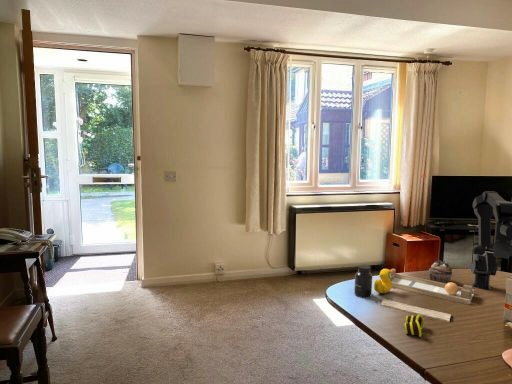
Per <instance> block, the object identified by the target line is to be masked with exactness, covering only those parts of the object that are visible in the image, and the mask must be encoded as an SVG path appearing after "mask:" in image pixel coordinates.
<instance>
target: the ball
mask: <svg viewBox="0 0 512 384" xmlns="http://www.w3.org/2000/svg"><path fill="white" fill-rule="evenodd" d="M445 291H446V292H447V293H448V294H451V295H454V294H456V293H457V292H458V284H456V283H454V282H452V281H450V282H449V283H447V284H446V285H445Z"/></svg>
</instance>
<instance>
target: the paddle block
mask: <svg viewBox="0 0 512 384" xmlns="http://www.w3.org/2000/svg"><path fill="white" fill-rule="evenodd" d="M462 287H463V288H462V290H461V298H465V299H470V298H471V296H472V289H473V287H472V285H469V284H463V286H462Z"/></svg>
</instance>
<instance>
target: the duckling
mask: <svg viewBox="0 0 512 384" xmlns="http://www.w3.org/2000/svg"><path fill="white" fill-rule="evenodd" d="M393 275H394V270H391V269H388V268H383V269H381V270H380V272H379V278H377V279H375V280H374V285H373V286H374V287H373V288H374V290H375V292H376V293H379V294H386V293H389V292H390V291H391V290H392V288H393V287H392V282H391V281H390V280H391V278H392V276H393Z"/></svg>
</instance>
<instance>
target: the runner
mask: <svg viewBox="0 0 512 384" xmlns="http://www.w3.org/2000/svg"><path fill="white" fill-rule="evenodd" d="M391 282H394V283H398V284H403V285H407V286H412V287H416V288H421V289H425V290H429V291H434V292H438V293H443V294H447V295H451V294H448V293H447V292H446V291H445V288H442V287H437V286H433V285H428V284H423V283H419V282H414V281H409V280H405V279H400V278H394V279H393V280H392V281H391ZM474 295H475V293H474V294H472V296H471V298H470V303H471V302H472V299H473V297H474ZM452 296H456V297H461V291H458V292H457V293H456V294H454V295H452Z"/></svg>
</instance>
